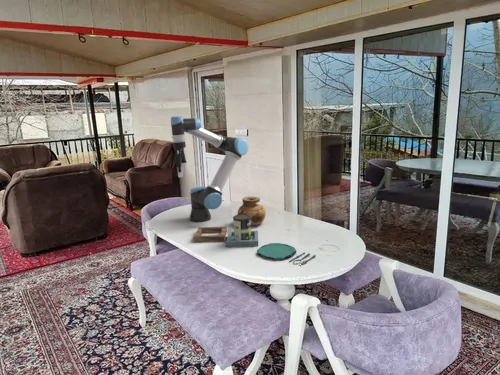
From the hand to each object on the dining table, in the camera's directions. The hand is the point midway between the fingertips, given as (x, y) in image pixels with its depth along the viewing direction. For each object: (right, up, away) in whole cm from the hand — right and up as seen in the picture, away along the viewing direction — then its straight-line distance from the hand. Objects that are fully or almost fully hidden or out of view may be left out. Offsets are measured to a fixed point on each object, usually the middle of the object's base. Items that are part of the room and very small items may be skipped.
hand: (182, 175), depth 234 cm
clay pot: (+44, -32, +16) cm, 57 cm away
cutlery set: (+61, -44, -38) cm, 84 cm away
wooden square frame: (+19, -38, -6) cm, 43 cm away
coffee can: (+38, -39, -16) cm, 57 cm away
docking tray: (+39, -39, -15) cm, 57 cm away
